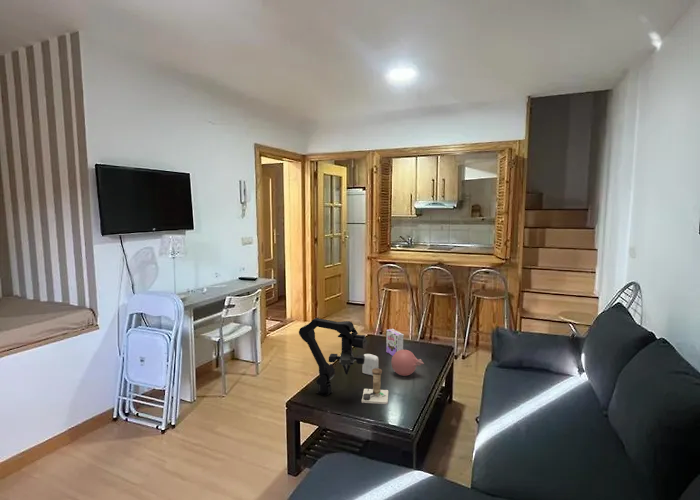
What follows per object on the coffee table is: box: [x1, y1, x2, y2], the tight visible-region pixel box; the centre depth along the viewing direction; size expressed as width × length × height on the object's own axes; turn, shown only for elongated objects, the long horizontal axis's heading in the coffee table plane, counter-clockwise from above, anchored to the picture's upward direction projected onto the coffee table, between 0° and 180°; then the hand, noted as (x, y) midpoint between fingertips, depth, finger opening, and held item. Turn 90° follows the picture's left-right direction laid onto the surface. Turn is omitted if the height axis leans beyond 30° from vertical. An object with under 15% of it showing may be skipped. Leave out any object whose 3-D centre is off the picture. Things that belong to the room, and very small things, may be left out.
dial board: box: [361, 388, 389, 405], centre depth 213 cm, size 14×14×1 cm
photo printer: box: [361, 353, 380, 377], centre depth 242 cm, size 10×4×12 cm, turn 60°
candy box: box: [385, 328, 405, 357], centre depth 274 cm, size 14×6×16 cm, turn 25°
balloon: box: [390, 349, 425, 377], centre depth 240 cm, size 15×20×15 cm
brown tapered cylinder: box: [362, 367, 383, 400], centre depth 211 cm, size 11×5×14 cm, turn 129°
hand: (346, 374), depth 211 cm, fingers closed
